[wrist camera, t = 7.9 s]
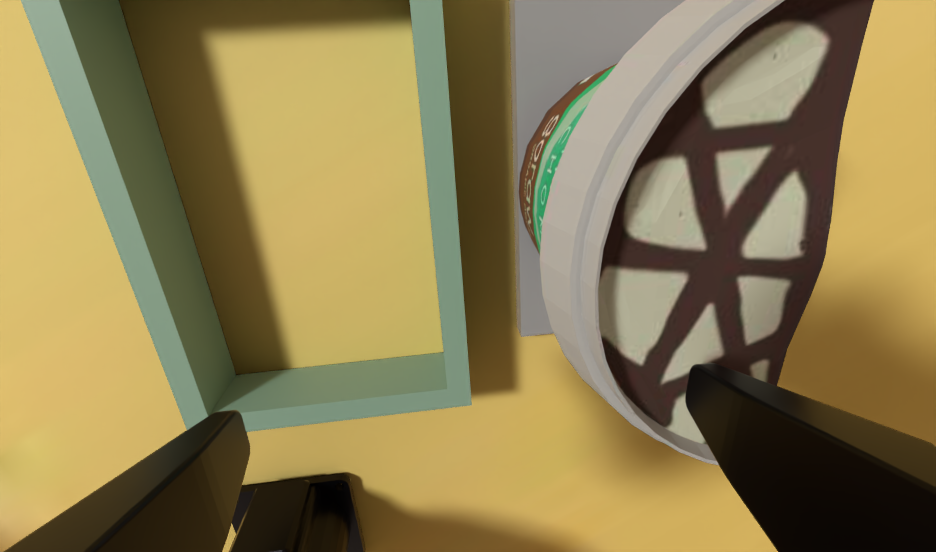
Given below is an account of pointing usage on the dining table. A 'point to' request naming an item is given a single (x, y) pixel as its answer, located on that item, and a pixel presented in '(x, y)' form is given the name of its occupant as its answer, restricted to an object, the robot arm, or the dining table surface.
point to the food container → (692, 199)
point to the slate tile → (559, 94)
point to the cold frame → (175, 254)
